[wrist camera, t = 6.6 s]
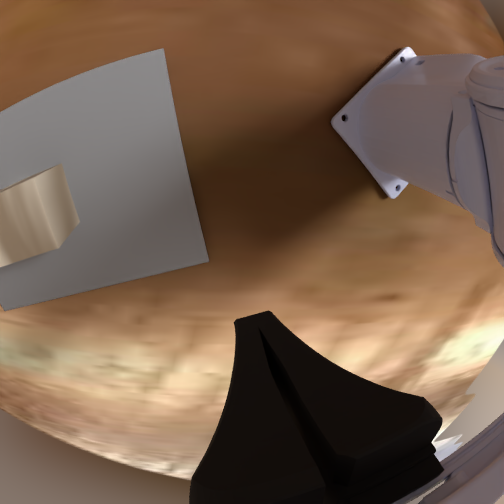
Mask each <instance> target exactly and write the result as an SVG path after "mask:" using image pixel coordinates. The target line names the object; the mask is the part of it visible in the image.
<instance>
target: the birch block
mask: <svg viewBox="0 0 504 504" xmlns="http://www.w3.org/2000/svg"><path fill="white" fill-rule="evenodd" d="M79 222H80V220H79V217H78V215H77V212H76V209H75V206H74V202H73V199H72V196H71V193H70V190H69V187H68V183H67V180H66V176H65V173H64V169H63V166H62V163H61V164H59V165H56V166H53V167H51V168H49V169H46V170H44V171H41V172H39V173H36V174H34V175H32V176H30V177H27V178H25V179H23V180H21V181H18V182H16V183H14V184H12V185H10V186H8V187H5V188H3V189H1V190H0V267H3V266H6V265H9V264H12V263H15V262H18V261H21V260H24V259H27V258H30V257H33V256H36V255H39V254H42V253H45V252H48V251H51V250H55V249H58V248H60V246H61V245H62V244H63V242H64V241H65V240H66V239H67V237H68V236H69V235H70V234H71V232H72V231H73V230H74V229H75V227H76V226H77V225H78V224H79Z"/></svg>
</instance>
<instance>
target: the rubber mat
mask: <svg viewBox="0 0 504 504" xmlns="http://www.w3.org/2000/svg"><path fill="white" fill-rule="evenodd" d="M61 163H62V166H63V169H64V173H65V176H66V180H67V183H68V187H69V190H70V193H71V196H72V199H73V202H74V206H75V209H76V212H77V215H78V217H79V220H80V222H79V224H78V225H77V226H76V227H75V229H74V230H73V231H72V232H71V234H70V235H69V236H68V237H67V239H66V240H65V241H64V242H63V244H62V245H61V246H60V248H58V249H55V250H51V251H48V252H45V253H42V254H39V255H36V256H33V257H30V258H27V259H24V260H21V261H18V262H15V263H12V264H9V265H6V266H3V267H0V304H1V306H2V308H3V309H4V311H7V310H11V309H15V308H20V307H24V306H28V305H32V304H36V303H40V302H44V301H48V300H53V299H57V298H61V297H65V296H69V295H73V294H77V293H81V292H86V291H90V290H94V289H98V288H102V287H106V286H110V285H115V284H119V283H123V282H127V281H131V280H135V279H139V278H143V277H148V276H152V275H156V274H160V273H164V272H168V271H172V270H177V269H181V268H185V267H189V266H193V265H197V264H201V263H206V262H209V258H208V254H207V250H206V246H205V242H204V238H203V234H202V230H201V225H200V221H199V217H198V213H197V209H196V205H195V200H194V196H193V192H192V187H191V183H190V178H189V174H188V169H187V165H186V160H185V156H184V151H183V146H182V142H181V137H180V132H179V127H178V122H177V118H176V113H175V107H174V102H173V97H172V92H171V87H170V81H169V76H168V70H167V65H166V59H165V54H164V49H159V50H155V51H151V52H147V53H143V54H139V55H136V56H132V57H129V58H126V59H122V60H119V61H116V62H113V63H110V64H107V65H104V66H101V67H98V68H95V69H93V70H90V71H87V72H84V73H82V74H79V75H77V76H74V77H72V78H69V79H67V80H64V81H62V82H60V83H57V84H55V85H53V86H51V87H49V88H46V89H44V90H42V91H40V92H38V93H36V94H34V95H32V96H30V97H28V98H26V99H24V100H22V101H20V102H18V103H16V104H14V105H13V106H11V107H9V108H7V109H5V110H4V111H2V112H0V190H1V189H3V188H5V187H8V186H10V185H12V184H14V183H16V182H18V181H21V180H23V179H25V178H27V177H30V176H32V175H34V174H36V173H39V172H41V171H44V170H46V169H49V168H51V167H53V166H56V165H59V164H61Z"/></svg>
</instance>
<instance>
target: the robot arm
mask: <svg viewBox="0 0 504 504" xmlns="http://www.w3.org/2000/svg"><path fill="white" fill-rule="evenodd" d="M400 58H401V59H402V62H401V61H400ZM342 115H345V117H346V119H345V121H342ZM331 125H332V127H333V128H334V129H335V130H336V132H337V133H338V134H339V135H340V136H341V137H342V139H343V140H344V141H345V142H346V143H347V145H348V146H349V147H350V148H351V149H352V151H353V152H354V153H355V154H356V155H357V157H358V158H359V159H360V160H361V162H362V163H363V164H364V165H365V167H366V168H367V169H368V171H369V172H370V173H371V174H372V176H373V177H374V178H375V180H376V181H377V182H378V184H379V185H380V186H381V188H382V189H383V190H384V192H385V193H386V194H387V196H388V197H390V198H392V199H394V198H396V197H397V196H398V195H399V194H400V192H401V191H402V190H403V189H404V188H405V187H406V186H407V184H408V183H410V184H413V185H415V186H417V187H420V188H422V189H424V190H426V191H428V192H431V193H433V194H435V195H437V196H439V197H441V198H443V199H445V200H447V201H450V202H452V203H454V204H456V205H458V206H460V207H462V208H464V209H466V210H467V211H469V212H470V213H471V214H472V215H473V216H474V218H475V222H476V225H477V226H478V227H480V228H482V229H484V230H485V231H487V232H489V233H490V234H491V243H492V248H493V251H494V254H495V256H496V258H497V260H498V262H499V263H500V264H501V265H502V267H503V268H504V56H497V57H493V58H489V59H486V58H484V57H481V56H478V55H475V54H441V55H426V56H416V54H415V53H414V52H413V50H412V49H411V48H409V47H404V48H402V49H401V50H400V51H399V52H398V53H397V54H396V55H395V56H394V57H393V58H392V59H391V60H390V61H389V62H388V63H387V64H386V65H385V66H384V67H383V68H382V69H381V70H380V71H379V72H378V73H377V74H376V75H375V76H374V77H373V78H372V79H371V80H370V81H369V82H368V83H367V84H366V85H365V86H364V87H363V88H362V89H361V90H360V91H359V92H358V93H357V94H356V95H355V96H354V97H353V98H352V99H351V100H350V101H349V102H348V103H347V104H346V105H345V106H344V107H343V108H342V109H341V110H340V111H339V112H338V113H337V114H336V115H335V116H334V117H333V118H332V120H331ZM397 185H398V188H397V189H396V186H397ZM234 325H235V333H236V344H235V357H234V365H233V371H232V377H231V382H230V387H229V391H228V395H227V399H226V402H225V406H224V409H223V412H222V415H221V418H220V421H219V423H218V426H217V429H216V431H215V433H214V435H213V438H212V440H211V442H210V444H209V447H208V449H207V451H206V453H205V455H204V457H203V458H202V460H201V462H200V464H199V466H198V467H197V469H196V471H195V473H194V474H193V476H192V480H191V486H190V496H189V504H406V503H408V502H410V501H412V500H413V499H415V498H417V497H419V496H420V495H422V494H424V493H425V492H427V491H428V490H430V489H431V488H433V487H435V486H436V485H438V484H439V483H440V482H442V481H444V480H445V479H446V480H445V482H444V484H442V485H441V486H439V487H438V488H437V489H435V490H434V491H432V492H431V493H429V494H428V495H426V496H425V497H424V498H423V499H422V500H421V501H420V502H419V503H418V504H494V503H495V502H496V501H497V500H498V499H499V498H500V497H501V496H502V495H503V494H504V413H503V414H502V415H500V416H499V417H498V418H497V419H496V420H495V421H494V422H492V423H491V424H490V425H489V426H488V427H487V428H485V429H484V430H483V431H482V432H480V433H479V434H478V435H477V436H475V437H474V438H473V439H472V440H470V441H469V442H468V443H466V444H465V445H464V446H462V447H461V448H459V449H458V450H457V451H455V452H454V453H452V454H451V455H450V456H448V457H447V458H445V459H444V460H442V461H441V462H439V461H438V459H437V458H436V456H435V455H434V453H435V452H436V449H435V447H434V446H433V444H432V443H431V442H432V440H433V439H434V437H435V436H436V434H437V433H438V431H439V430H440V428H441V425H442V417H441V416H440V415H439V413H438V412H437V411H436V409H435V408H434V407H433V406H432V405H431V404H430V403H429V402H428V401H427V400H426V399H425V398H424V397H420V396H416V395H412V394H407V393H403V392H399V391H396V390H392V389H389V388H386V387H383V386H381V385H378V384H376V383H373V382H371V381H368V380H366V379H364V378H361V377H359V376H357V375H355V374H353V373H351V372H349V371H347V370H345V369H343V368H341V367H340V366H338V365H336V364H334V363H333V362H331V361H329V360H328V359H326V358H325V357H323V356H322V355H320V354H319V353H317V352H316V351H315V350H313V349H312V348H311V347H309V346H308V345H307V344H305V343H304V342H303V341H302V340H300V339H299V338H298V337H297V336H296V335H294V334H293V333H292V332H291V331H290V330H289V329H288V328H287V327H286V326H284V325H283V324H282V323H281V322H280V321H279V320H278V319H277V317H276V316H275V315H274V314H273V313H272V312H270V311H265V312H261V313H258V314H254V315H251V316H247V317H243V318H239V319H236V320H235V322H234Z"/></svg>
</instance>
